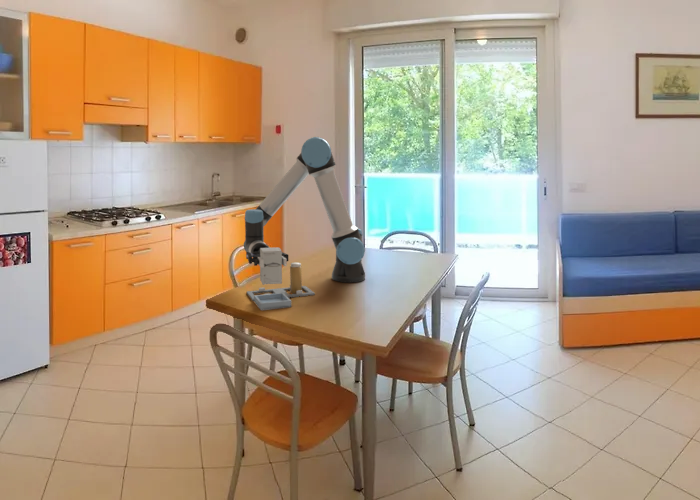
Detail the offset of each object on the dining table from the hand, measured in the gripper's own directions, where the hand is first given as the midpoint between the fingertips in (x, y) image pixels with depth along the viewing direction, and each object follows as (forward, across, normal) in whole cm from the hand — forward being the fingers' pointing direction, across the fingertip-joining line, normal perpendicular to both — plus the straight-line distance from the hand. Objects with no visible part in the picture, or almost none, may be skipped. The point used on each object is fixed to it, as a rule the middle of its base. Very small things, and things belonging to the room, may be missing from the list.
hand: (274, 263), depth 187 cm
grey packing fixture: (-17, -7, -17) cm, 25 cm away
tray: (-5, 0, -17) cm, 18 cm away
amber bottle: (-17, -13, -17) cm, 27 cm away
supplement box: (-5, 0, -8) cm, 10 cm away
